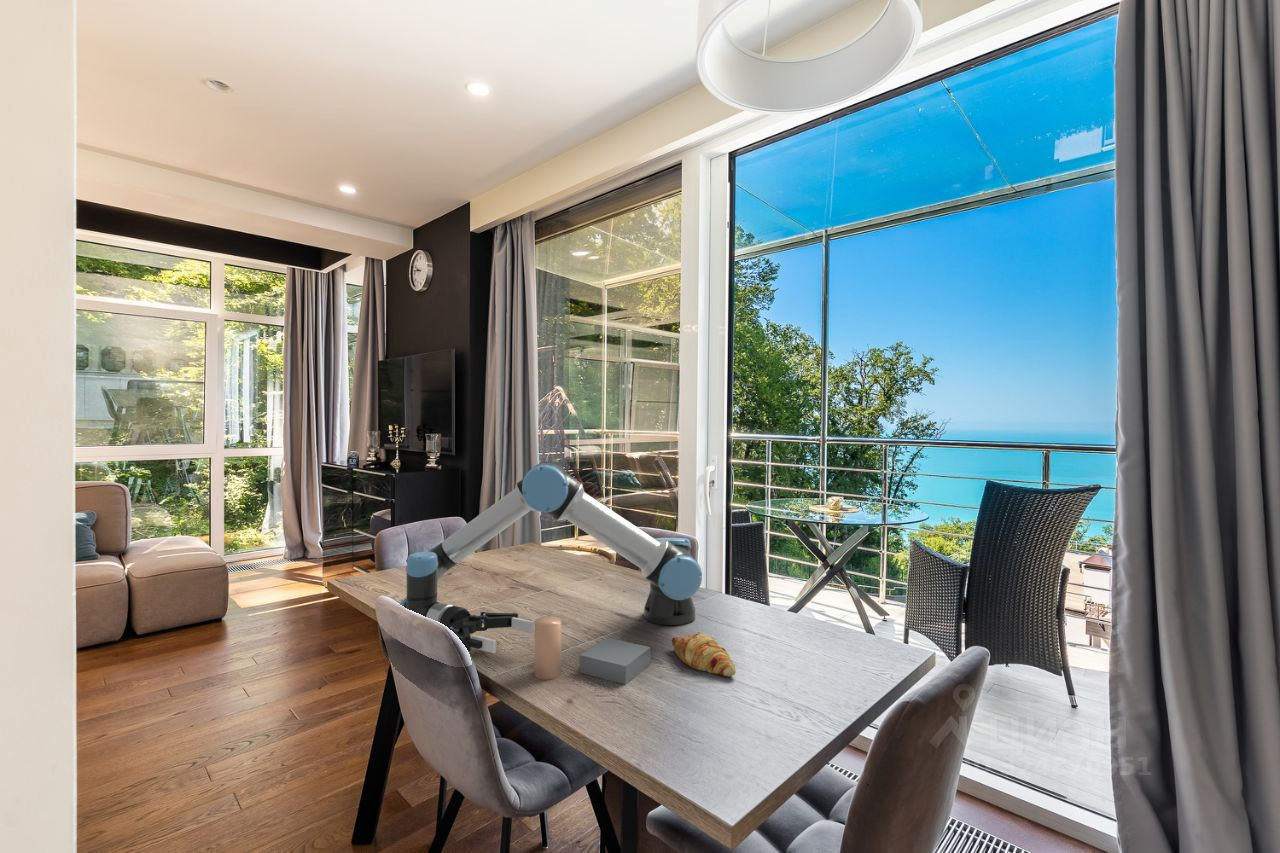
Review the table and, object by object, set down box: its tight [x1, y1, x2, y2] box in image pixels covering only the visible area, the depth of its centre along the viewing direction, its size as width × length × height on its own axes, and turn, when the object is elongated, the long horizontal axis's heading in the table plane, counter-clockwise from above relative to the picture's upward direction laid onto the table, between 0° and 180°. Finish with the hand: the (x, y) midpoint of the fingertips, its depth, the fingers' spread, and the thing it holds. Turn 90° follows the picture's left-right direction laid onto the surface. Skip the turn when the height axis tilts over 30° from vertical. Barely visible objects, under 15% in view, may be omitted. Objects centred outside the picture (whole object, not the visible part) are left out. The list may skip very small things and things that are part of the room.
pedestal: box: [579, 637, 652, 685], centre depth 134 cm, size 12×12×4 cm
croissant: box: [671, 632, 737, 677], centre depth 137 cm, size 21×10×8 cm, turn 38°
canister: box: [533, 615, 562, 681], centre depth 131 cm, size 6×6×12 cm
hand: (515, 636), depth 135 cm, fingers open, 13 cm apart
